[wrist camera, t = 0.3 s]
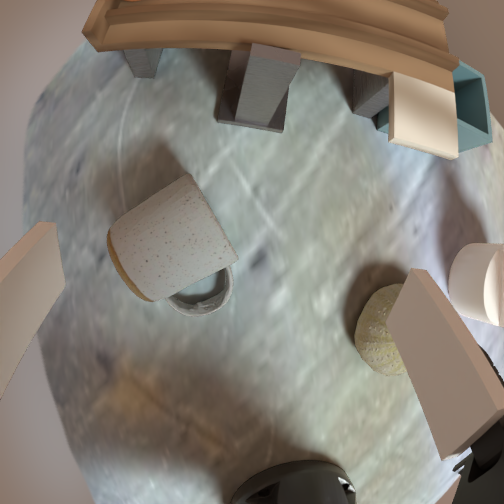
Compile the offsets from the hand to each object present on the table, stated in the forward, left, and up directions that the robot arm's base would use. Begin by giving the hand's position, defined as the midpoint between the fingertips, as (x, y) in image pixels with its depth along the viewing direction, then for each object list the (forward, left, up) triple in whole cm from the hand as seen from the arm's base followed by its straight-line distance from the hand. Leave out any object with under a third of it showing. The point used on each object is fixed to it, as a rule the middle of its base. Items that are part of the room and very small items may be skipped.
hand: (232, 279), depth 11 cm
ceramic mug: (0, +3, -18) cm, 18 cm away
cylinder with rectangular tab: (+1, -30, -18) cm, 35 cm away
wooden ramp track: (+16, -1, -8) cm, 18 cm away
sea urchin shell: (-5, -18, -18) cm, 26 cm away
